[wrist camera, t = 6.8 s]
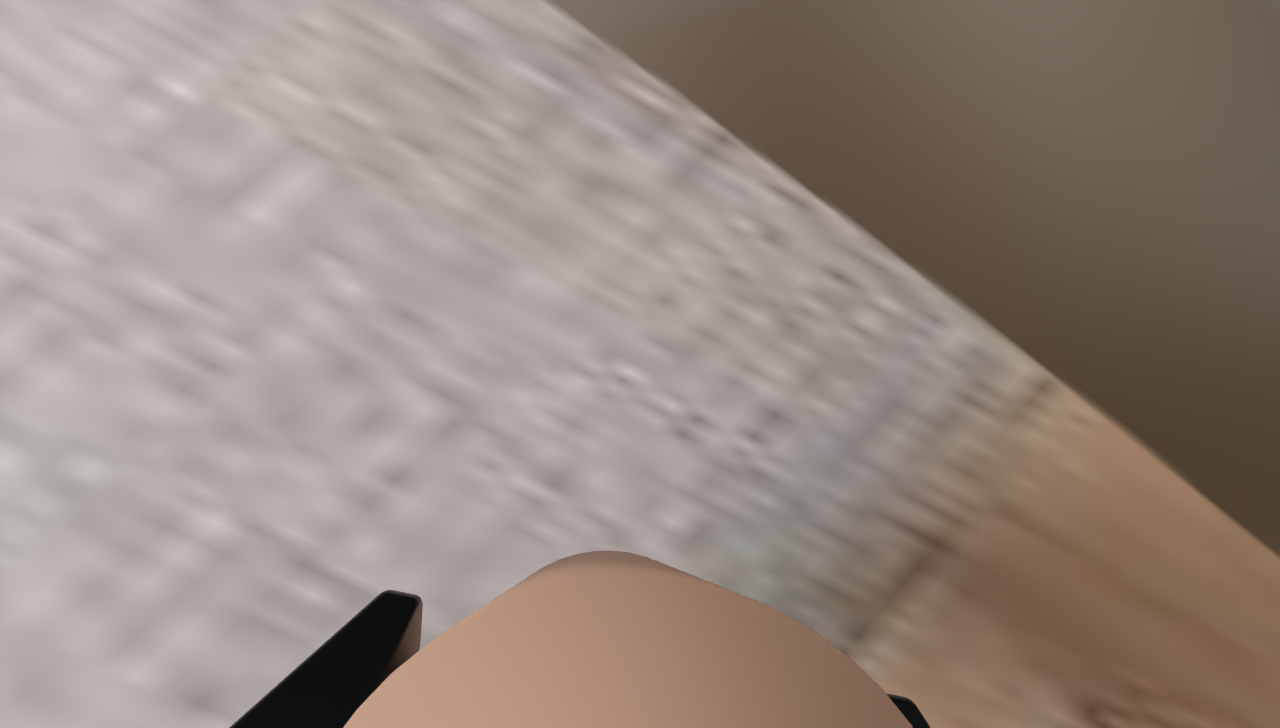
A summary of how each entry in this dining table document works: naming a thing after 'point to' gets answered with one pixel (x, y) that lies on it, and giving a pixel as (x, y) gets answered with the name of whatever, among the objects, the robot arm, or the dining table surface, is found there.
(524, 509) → the dining table surface
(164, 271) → the dining table surface
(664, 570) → the tan piece
